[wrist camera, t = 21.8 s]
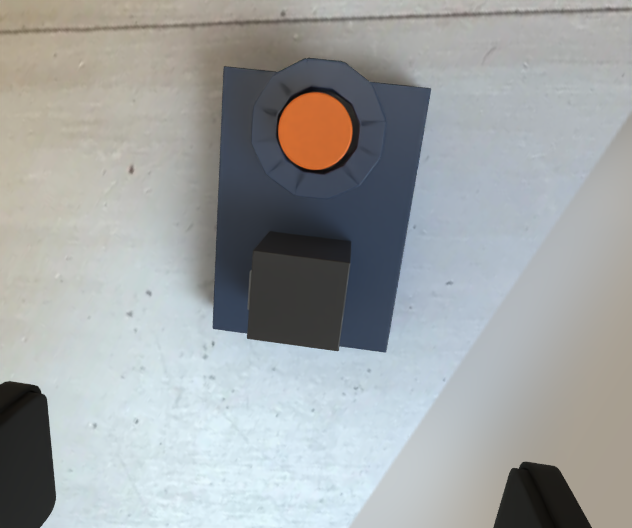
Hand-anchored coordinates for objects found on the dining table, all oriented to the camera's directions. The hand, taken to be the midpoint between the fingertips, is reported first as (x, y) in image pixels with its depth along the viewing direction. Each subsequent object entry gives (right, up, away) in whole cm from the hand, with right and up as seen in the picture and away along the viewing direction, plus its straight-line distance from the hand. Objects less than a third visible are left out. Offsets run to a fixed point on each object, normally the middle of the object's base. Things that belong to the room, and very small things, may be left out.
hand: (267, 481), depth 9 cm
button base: (+1, +7, +17) cm, 18 cm away
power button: (+1, +10, +12) cm, 16 cm away
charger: (0, +4, +15) cm, 16 cm away
